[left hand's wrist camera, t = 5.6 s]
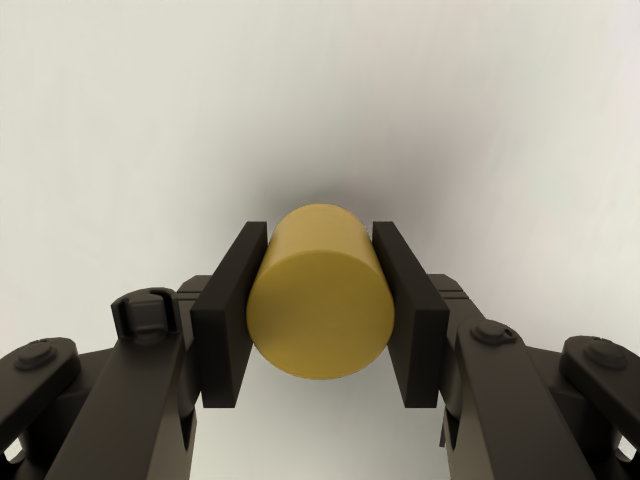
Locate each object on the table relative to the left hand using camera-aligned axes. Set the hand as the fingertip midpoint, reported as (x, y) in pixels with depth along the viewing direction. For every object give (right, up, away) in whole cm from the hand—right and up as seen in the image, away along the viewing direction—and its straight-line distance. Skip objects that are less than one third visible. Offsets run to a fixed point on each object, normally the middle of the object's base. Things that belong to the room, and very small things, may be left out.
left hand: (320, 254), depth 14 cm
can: (0, 0, 0) cm, 0 cm away
